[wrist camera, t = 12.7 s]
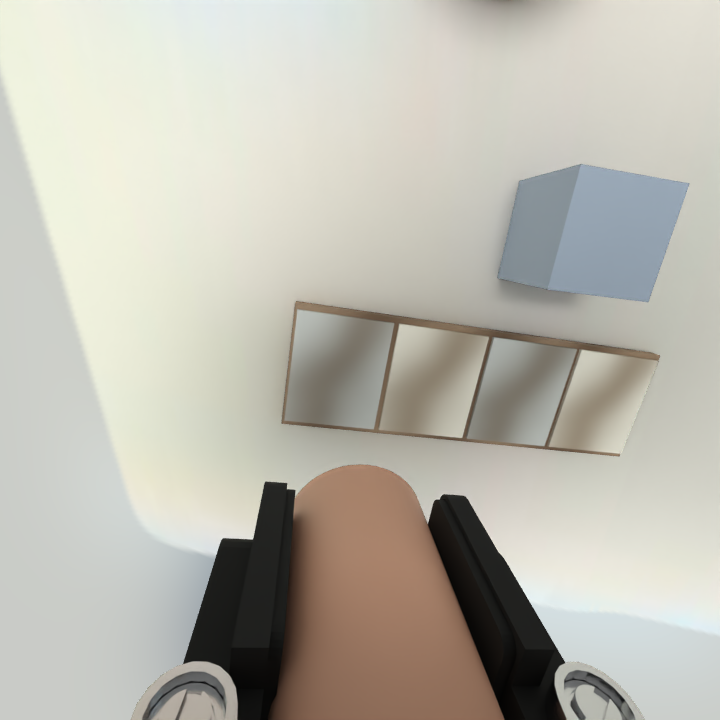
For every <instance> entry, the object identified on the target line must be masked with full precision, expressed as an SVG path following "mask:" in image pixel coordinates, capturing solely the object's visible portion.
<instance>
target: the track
mask: <svg viewBox="0 0 720 720" xmlns="http://www.w3.org/2000/svg"><path fill="white" fill-rule="evenodd" d="M659 358H660V355H657V354H654V353H650V352H643V351H636V350H629V349H622V348H615V347H609V346H602V345H595V344H588V343H581V342H574V341H567V340H560V339H553V338H547V337H540V336H533V335H526V334H519V333H512V332H505V331H498V330H491V329H484V328H478V327H471V326H464V325H457V324H450V323H443V322H436V321H429V320H422V319H416V318H409V317H402V316H395V315H388V314H381V313H374V312H367V311H360V310H354V309H347V308H340V307H333V306H326V305H319V304H312V303H305V302H298V301H296V303H295V310H294V319H293V328H292V336H291V345H290V354H289V362H288V371H287V380H286V388H285V397H284V406H283V414H282V424H292V425H302V426H313V427H323V428H333V429H343V430H354V431H364V432H374V433H384V434H395V435H405V436H415V437H425V438H436V439H446V440H456V441H466V442H477V443H487V444H497V445H507V446H518V447H528V448H538V449H548V450H559V451H569V452H579V453H589V454H600V455H610V456H620V454H621V453H622V451H623V448H624V446H625V444H626V441H627V439H628V436H629V434H630V431H631V429H632V426H633V424H634V421H635V419H636V416H637V414H638V412H639V409H640V407H641V404H642V402H643V399H644V397H645V394H646V392H647V389H648V387H649V384H650V382H651V380H652V377H653V375H654V372H655V370H656V367H657V365H658V362H659V361H658V360H659Z"/></svg>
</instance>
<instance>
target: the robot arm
mask: <svg viewBox="0 0 720 720" xmlns="http://www.w3.org/2000/svg"><path fill="white" fill-rule="evenodd" d="M294 501H295V490H289V489H287V483H277V482H265V484H264V489H263V494H262V499H261V504H260V509H259V514H258V519H257V524H256V529H255V533H254V538H253V540H248V539H227V538H223V539H222V540H221V543H220V546H219V549H218V552H217V555H216V559H215V562H214V565H213V568H212V572H211V575H210V578H209V581H208V585H207V588H206V591H205V594H204V598H203V601H202V604H201V608H200V611H199V614H198V617H197V620H196V624H195V627H194V630H193V633H192V637H191V640H190V643H189V646H188V650H187V653H186V656H185V659H184V663H183V664H182V665H179V666H176V667H174V668H173V669H171V670H169V671H168V672H166V673H164V674H163V675H161V676H160V677H159V678H158V679H157V680H156V681H155V682H154V683H153V684H152V685H150V686H149V687H148V688H147V690H146V691H145V693H144V694H143V696H142V697H141V699H140V700H139V702H138V703H137V704H136V707H135V710H134V712H133V715H132V718H131V720H268V715H269V711H270V708H271V705H272V703H273V701H274V699H275V697H276V695H277V688H278V681H279V674H280V667H281V660H282V652H283V643H284V633H285V620H286V607H287V594H288V581H289V567H290V554H291V541H292V528H293V515H294ZM428 526H429V529H430V532H431V534H432V537H433V539H434V542H435V544H436V547H437V549H438V552H439V554H440V557H441V559H442V562H443V565H444V567H445V570H446V572H447V575H448V577H449V580H450V582H451V585H452V587H453V590H454V592H455V595H456V598H457V600H458V603H459V605H460V608H461V610H462V613H463V615H464V618H465V620H466V623H467V625H468V628H469V631H470V633H471V636H472V638H473V641H474V643H475V646H476V648H477V651H478V653H479V656H480V658H481V661H482V664H483V666H484V669H485V671H486V674H487V676H488V679H489V681H490V684H491V686H492V689H493V691H494V694H495V696H496V699H497V702H498V704H499V707H500V709H501V712H502V714H503V717H504V719H505V720H645V719H644V717H643V715H642V713H641V712H640V710H639V709H638V707H637V706H636V704H635V703H634V701H633V700H632V699H631V697H630V696H629V695H628V694H627V693H626V692H625V691H624V690H623V689H622V688H621V686H620V685H618V683H616V682H615V681H614V680H613V679H611V678H610V677H609V676H607V675H606V674H605V673H603V672H602V671H600V670H598V669H596V668H594V667H592V666H590V665H587V664H584V663H580V662H566V663H565V661H564V660H563V658H562V657H561V655H560V653H559V652H558V650H557V648H556V646H555V644H554V643H553V641H552V639H551V638H550V636H549V634H548V633H547V631H546V629H545V627H544V626H543V624H542V622H541V621H540V619H539V617H538V616H537V614H536V612H535V610H534V609H533V607H532V605H531V604H530V602H529V600H528V599H527V597H526V595H525V593H524V592H523V590H522V588H521V587H520V585H519V583H518V582H517V580H516V578H515V576H514V575H513V573H512V571H511V570H510V568H509V566H508V565H507V563H506V561H505V559H504V558H503V557H502V555H501V554H499V552H498V551H497V549H496V547H495V546H494V544H493V542H492V540H491V539H490V537H489V535H488V534H487V532H486V530H485V528H484V527H483V525H482V523H481V522H480V520H479V518H478V516H477V515H476V513H475V511H474V510H473V508H472V506H471V504H470V503H469V501H468V499H467V498H466V497H465V496H459V495H445V494H444V495H442V496H441V498H440V500H435V501H434V503H433V507H432V511H431V515H430V519H429V522H428Z"/></svg>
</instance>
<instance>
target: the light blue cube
mask: <svg viewBox="0 0 720 720" xmlns="http://www.w3.org/2000/svg"><path fill="white" fill-rule="evenodd" d="M688 186H689V183H684V182H678V181H673V180H667V179H661V178H656V177H650V176H644V175H639V174H633V173H628V172H622V171H616V170H611V169H605V168H600V167H594V166H588V165H583V164H580V165H576V166H573V167H569V168H565V169H562V170H558V171H554V172H551V173H547V174H543V175H540V176H536V177H532V178H529V179H525V180H521V181H520V182H519V186H518V190H517V195H516V199H515V203H514V208H513V212H512V217H511V221H510V225H509V230H508V234H507V238H506V243H505V247H504V251H503V256H502V260H501V265H500V269H499V273H498V278H500V279H504V280H508V281H513V282H517V283H521V284H526V285H530V286H534V287H539V288H543V289H547V290H555V291H563V292H571V293H579V294H587V295H595V296H603V297H611V298H619V299H627V300H635V301H642V302H649V299H650V296H651V293H652V290H653V287H654V284H655V281H656V278H657V276H658V273H659V270H660V267H661V264H662V261H663V258H664V255H665V253H666V250H667V247H668V244H669V241H670V238H671V235H672V232H673V230H674V227H675V224H676V221H677V218H678V215H679V212H680V209H681V206H682V204H683V201H684V198H685V195H686V192H687V189H688Z"/></svg>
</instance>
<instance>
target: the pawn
mask: <svg viewBox="0 0 720 720" xmlns="http://www.w3.org/2000/svg"><path fill="white" fill-rule="evenodd" d="M268 720H505V719H504V717H503V714H502V712H501V709H500V707H499V704H498V702H497V699H496V696H495V694H494V691H493V689H492V686H491V684H490V681H489V679H488V676H487V674H486V671H485V669H484V666H483V664H482V661H481V658H480V656H479V653H478V651H477V648H476V646H475V643H474V641H473V638H472V636H471V633H470V631H469V628H468V625H467V623H466V620H465V618H464V615H463V613H462V610H461V608H460V605H459V603H458V600H457V598H456V595H455V592H454V590H453V587H452V585H451V582H450V580H449V577H448V575H447V572H446V570H445V567H444V565H443V562H442V559H441V557H440V554H439V552H438V549H437V547H436V544H435V542H434V539H433V537H432V534H431V532H430V529H429V526H428V524H427V521H426V519H425V516H424V514H423V511H422V509H421V506H420V504H419V501H418V499H417V496H416V494H415V493H414V491H413V489H412V488H411V487H410V486H409V484H408V483H407V482H406V481H405V480H403V479H402V478H401V477H400V476H398V475H396V474H395V473H393V472H391V471H389V470H387V469H384V468H380V467H377V466H371V465H348V466H342V467H338V468H335V469H332V470H329V471H327V472H325V473H323V474H321V475H319V476H317V477H316V478H314V479H313V480H312V481H310V482H309V483H308V484H307V485H306V486H305V487H304V488H302V490H301V491H300V492H299V493H298V495H297V496H296V498H295V501H294V515H293V528H292V541H291V554H290V567H289V581H288V594H287V607H286V620H285V633H284V643H283V652H282V660H281V667H280V674H279V681H278V688H277V695H276V697H275V699H274V701H273V703H272V705H271V708H270V711H269V715H268Z"/></svg>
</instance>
